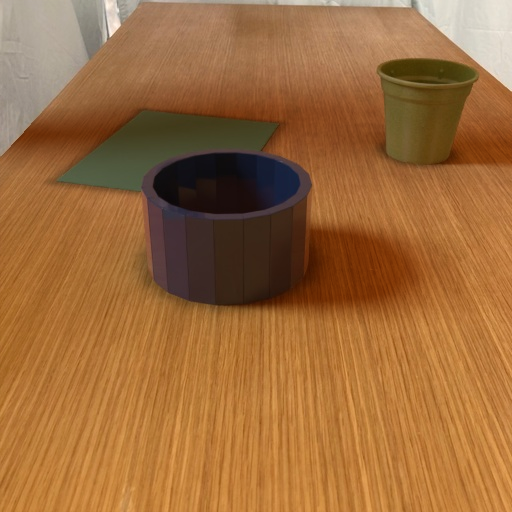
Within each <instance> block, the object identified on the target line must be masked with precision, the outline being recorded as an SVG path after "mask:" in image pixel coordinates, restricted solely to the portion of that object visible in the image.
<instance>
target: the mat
mask: <svg viewBox="0 0 512 512" xmlns="http://www.w3.org/2000/svg"><path fill="white" fill-rule="evenodd" d="M279 126H280V123H278V122H270V121H269V122H268V121H259V120H258V121H257V120H249V119H239V118H227V117H215V116H206V115H196V114H185V113H175V112H165V111H164V112H163V111H153V110H145V109H143V110H141V111H140V113H138V114H136V116H134V117H133V118H131V120H129V121H128V122H127V123H126V124H124V125H123V126H122V127H120V129H118V130H117V131H115V132H114V133H113V134H112V135H110V136H109V137H108V138H106V139H105V140H104V142H101V144H99V145H98V146H97V147H95V148H94V149H93V150H92V151H90V152H89V153H88V154H86V156H85V157H82V158H81V160H80V161H78V162H77V163H76V164H75V165H73V166H72V167H71V168H70V169H69V170H67V171H66V172H64V173H63V174H62V175H61V176H59V178H57V179H56V180H55V182H57V183H65V184H73V185H82V186H89V187H97V188H104V189H105V188H106V189H113V190H122V191H127V192H128V191H129V192H135V193H141V185H142V181H143V177H144V175H145V174H146V173H147V172H148V171H149V170H150V169H151V168H152V167H153V166H155V165H157V164H159V163H161V162H163V161H165V160H167V159H169V158H172V157H175V156H179V155H182V154H186V153H189V152H190V153H191V152H195V151H202V150H209V149H246V150H256V151H262V150H263V149H264V148H265V146H266V145H267V143H268V142H269V141H270V139H271V138H272V136H273V134H275V132H276V130H277V129H278V127H279Z"/></svg>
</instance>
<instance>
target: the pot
mask: <svg viewBox="0 0 512 512" xmlns="http://www.w3.org/2000/svg"><path fill="white" fill-rule="evenodd" d="M140 193H141V205H142V216H143V217H142V218H143V224H144V225H143V229H144V237H145V238H144V239H145V240H144V241H145V251H146V261H147V262H146V263H147V269H148V272H149V274H150V276H151V279H152V280H153V282H154V283H155V284H157V285H158V286H159V287H160V288H161V289H163V290H164V291H166V293H169V295H173V296H175V297H178V298H180V299H183V300H185V301H188V302H192V303H198V304H203V305H204V304H205V305H211V306H243V305H244V306H245V305H249V304H254V303H258V302H264V301H267V300H270V299H271V300H272V299H273V298H276V297H278V296H280V295H282V294H284V293H286V292H289V291H290V290H292V289H293V288H294V287H296V285H297V284H298V283H299V282H300V281H302V280H303V279H304V278H305V275H306V272H307V269H308V267H309V260H310V241H311V240H310V238H311V222H312V221H311V219H312V199H313V182H312V178H311V176H310V173H309V172H308V171H307V170H306V169H304V167H302V166H301V165H300V164H299V163H298V162H296V161H293V160H291V159H289V158H286V157H284V156H282V155H279V154H278V155H277V154H274V153H270V152H266V151H262V150H261V151H256V150H246V149H209V150H202V151H195V152H191V153H190V152H189V153H186V154H182V155H179V156H175V157H172V158H169V159H167V160H165V161H163V162H161V163H159V164H157V165H155V166H153V167H152V168H151V169H150V170H149V171H148V172H147V173H146V174H145V175H144V177H143V181H142V185H141V192H140Z"/></svg>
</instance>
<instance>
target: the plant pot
mask: <svg viewBox="0 0 512 512" xmlns="http://www.w3.org/2000/svg"><path fill="white" fill-rule="evenodd" d="M376 74H377V76H379V78H380V87H381V90H382V91H383V108H384V109H383V110H384V111H383V112H384V132H385V135H384V137H385V152H386V154H387V155H388V156H389V157H391V158H392V159H394V160H397V161H399V162H403V163H406V164H407V163H408V164H413V165H434V164H439V163H443V162H445V161H447V160H448V158H449V157H450V155H451V151H452V148H453V145H454V142H455V137H456V134H457V131H458V127H459V124H460V120H461V117H462V113H463V111H464V108H465V104H466V102H467V99H468V97H469V96H470V95H471V93H472V89H473V86H474V84H475V83H477V82H478V80H479V78H480V72H479V71H478V69H476V68H475V67H473V66H470V65H468V64H465V63H461V62H458V61H453V60H448V59H441V58H429V57H407V58H405V57H403V58H395V59H390V60H386V61H384V62H381V63H380V64H379V65H377V67H376Z"/></svg>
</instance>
